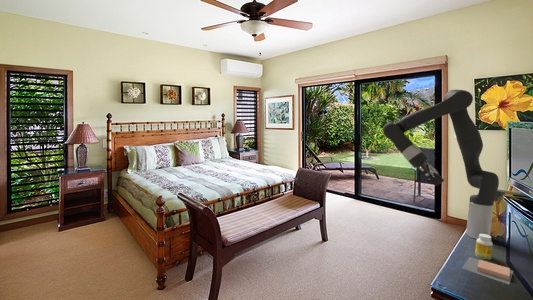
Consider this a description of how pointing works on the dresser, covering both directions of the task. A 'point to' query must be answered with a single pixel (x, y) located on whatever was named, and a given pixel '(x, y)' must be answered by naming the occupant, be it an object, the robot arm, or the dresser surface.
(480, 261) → the terracotta tile
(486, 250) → the supplement bottle
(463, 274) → the dresser surface
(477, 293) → the dresser surface
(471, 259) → the rubber mat
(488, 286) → the dresser surface
